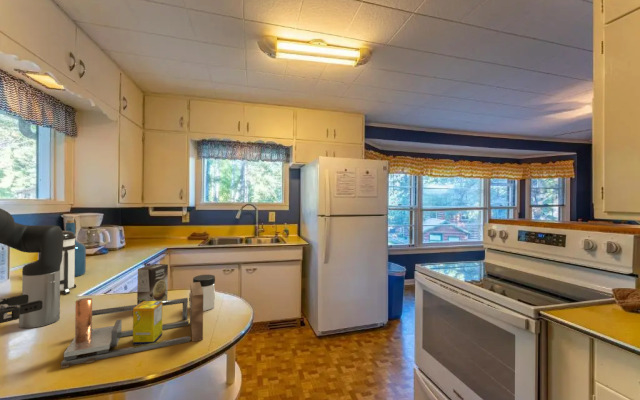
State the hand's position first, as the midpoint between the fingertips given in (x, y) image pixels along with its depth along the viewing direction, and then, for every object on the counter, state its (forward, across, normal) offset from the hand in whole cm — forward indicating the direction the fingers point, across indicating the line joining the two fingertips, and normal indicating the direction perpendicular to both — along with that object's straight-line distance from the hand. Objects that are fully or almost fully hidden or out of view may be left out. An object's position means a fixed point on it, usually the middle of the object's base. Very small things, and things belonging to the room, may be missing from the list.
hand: (34, 301), depth 70 cm
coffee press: (+28, +66, +17) cm, 74 cm away
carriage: (+13, -1, +16) cm, 20 cm away
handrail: (+27, +2, +17) cm, 32 cm away
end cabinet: (+34, -16, +17) cm, 42 cm away
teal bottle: (+43, +96, +16) cm, 106 cm away
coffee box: (+39, +16, +17) cm, 46 cm away
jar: (+49, -2, +17) cm, 52 cm away
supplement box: (+23, -8, +18) cm, 30 cm away
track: (+20, -6, +17) cm, 27 cm away
